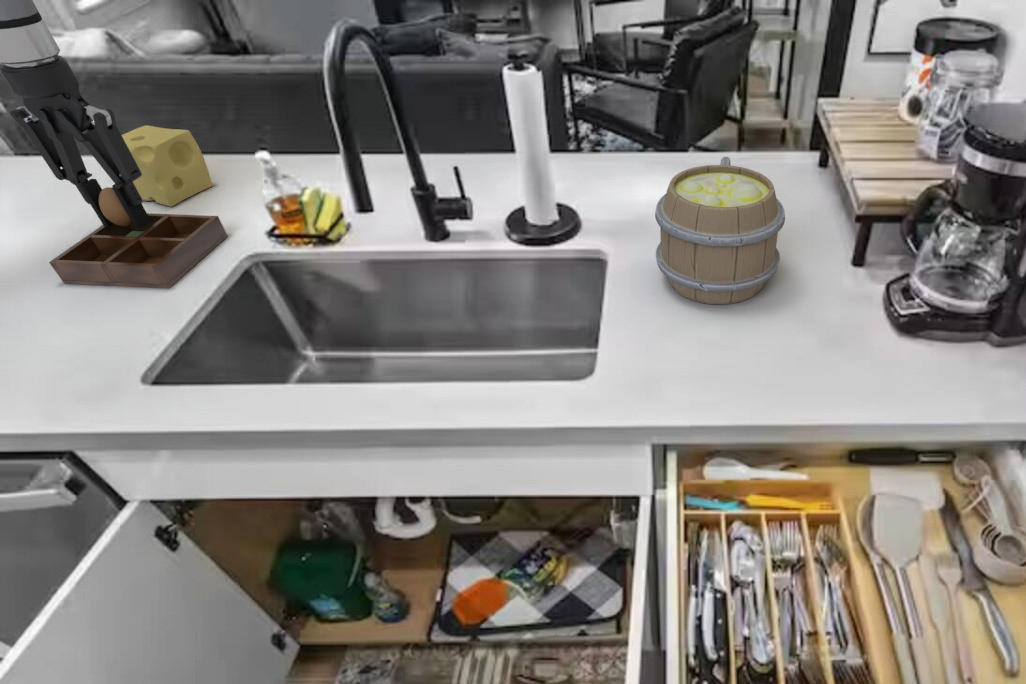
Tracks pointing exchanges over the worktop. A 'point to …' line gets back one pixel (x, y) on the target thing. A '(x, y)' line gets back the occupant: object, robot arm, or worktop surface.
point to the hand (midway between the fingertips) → (127, 223)
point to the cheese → (167, 164)
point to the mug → (719, 233)
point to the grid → (141, 252)
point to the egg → (113, 208)
